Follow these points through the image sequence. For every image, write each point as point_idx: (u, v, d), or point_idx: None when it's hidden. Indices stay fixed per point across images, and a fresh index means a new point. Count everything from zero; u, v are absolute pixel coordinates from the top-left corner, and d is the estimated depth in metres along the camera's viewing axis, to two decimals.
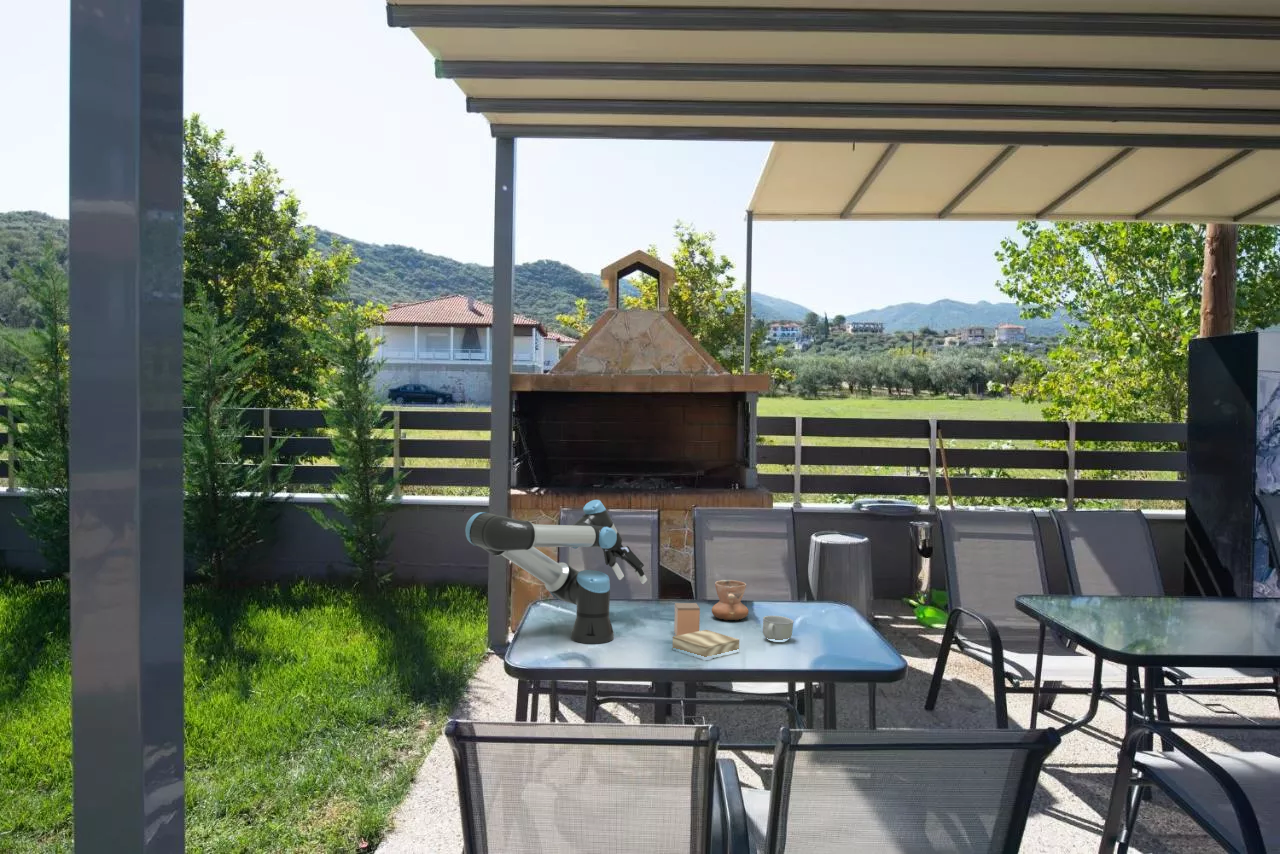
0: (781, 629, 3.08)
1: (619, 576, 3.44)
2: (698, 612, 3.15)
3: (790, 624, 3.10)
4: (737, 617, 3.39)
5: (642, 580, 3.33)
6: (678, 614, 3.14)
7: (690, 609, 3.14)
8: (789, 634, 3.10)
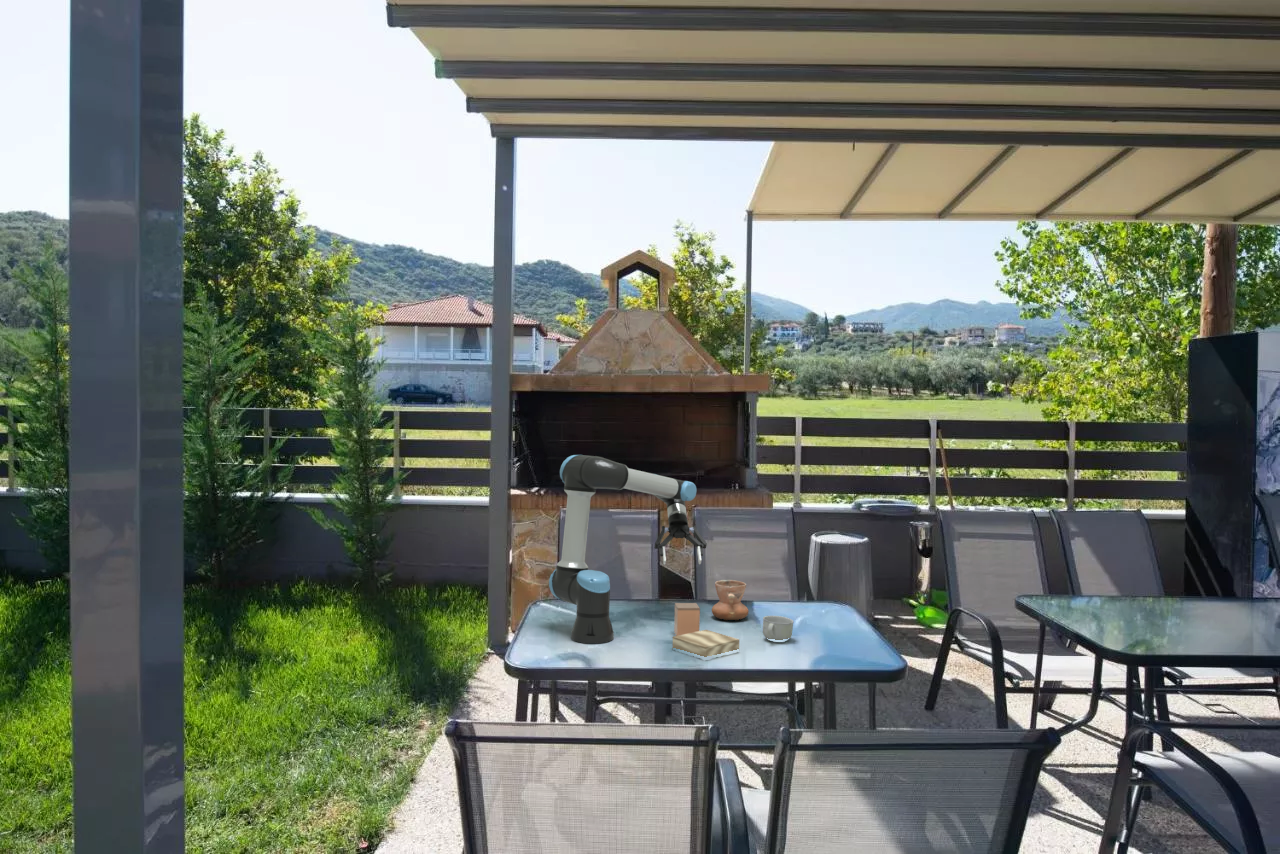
0: (781, 629, 3.08)
1: (665, 558, 3.33)
2: (698, 612, 3.15)
3: (790, 624, 3.10)
4: (737, 617, 3.39)
5: (700, 558, 3.34)
6: (678, 614, 3.14)
7: (690, 609, 3.14)
8: (789, 634, 3.10)
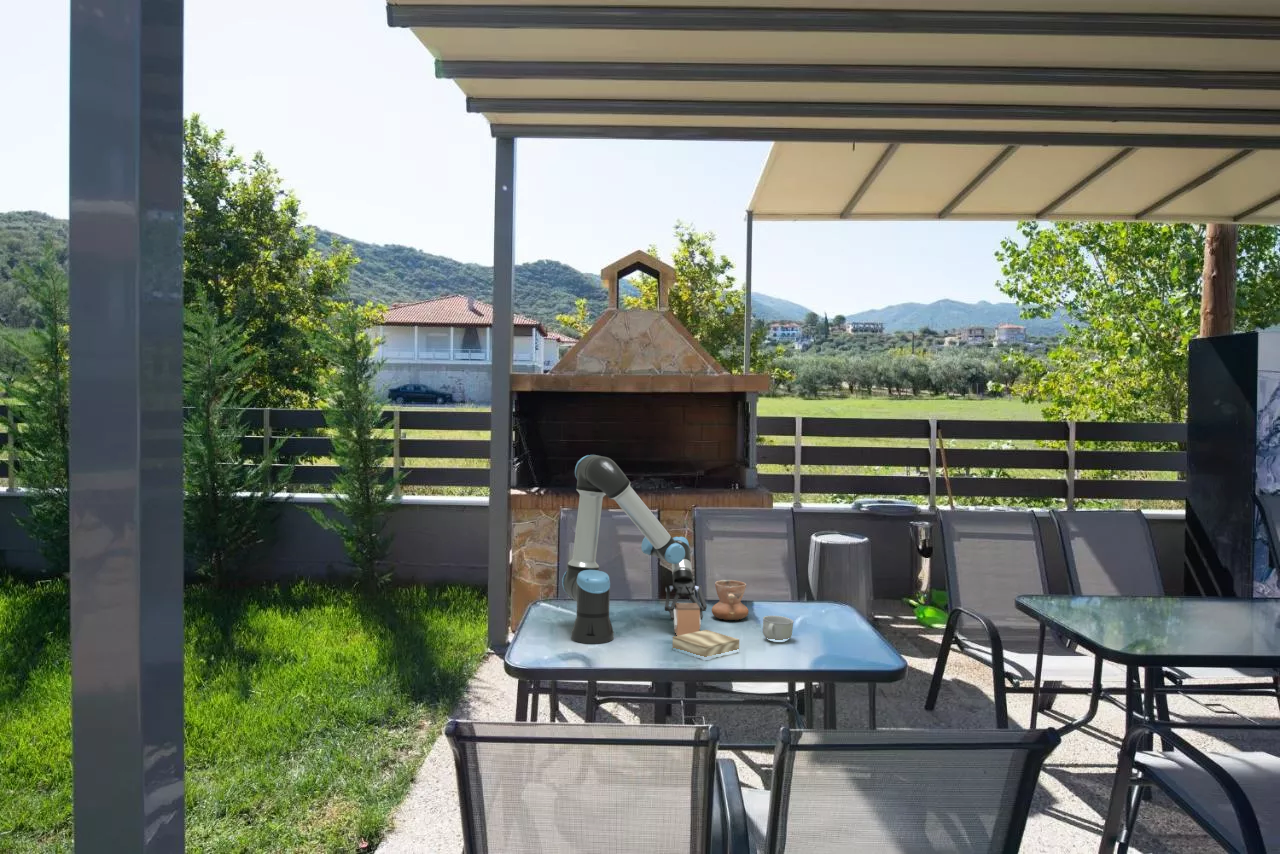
0: (781, 629, 3.08)
1: (676, 622, 3.16)
2: (698, 612, 3.15)
3: (790, 624, 3.10)
4: (737, 617, 3.39)
5: (700, 622, 3.17)
6: (678, 614, 3.14)
7: (690, 609, 3.14)
8: (789, 634, 3.10)
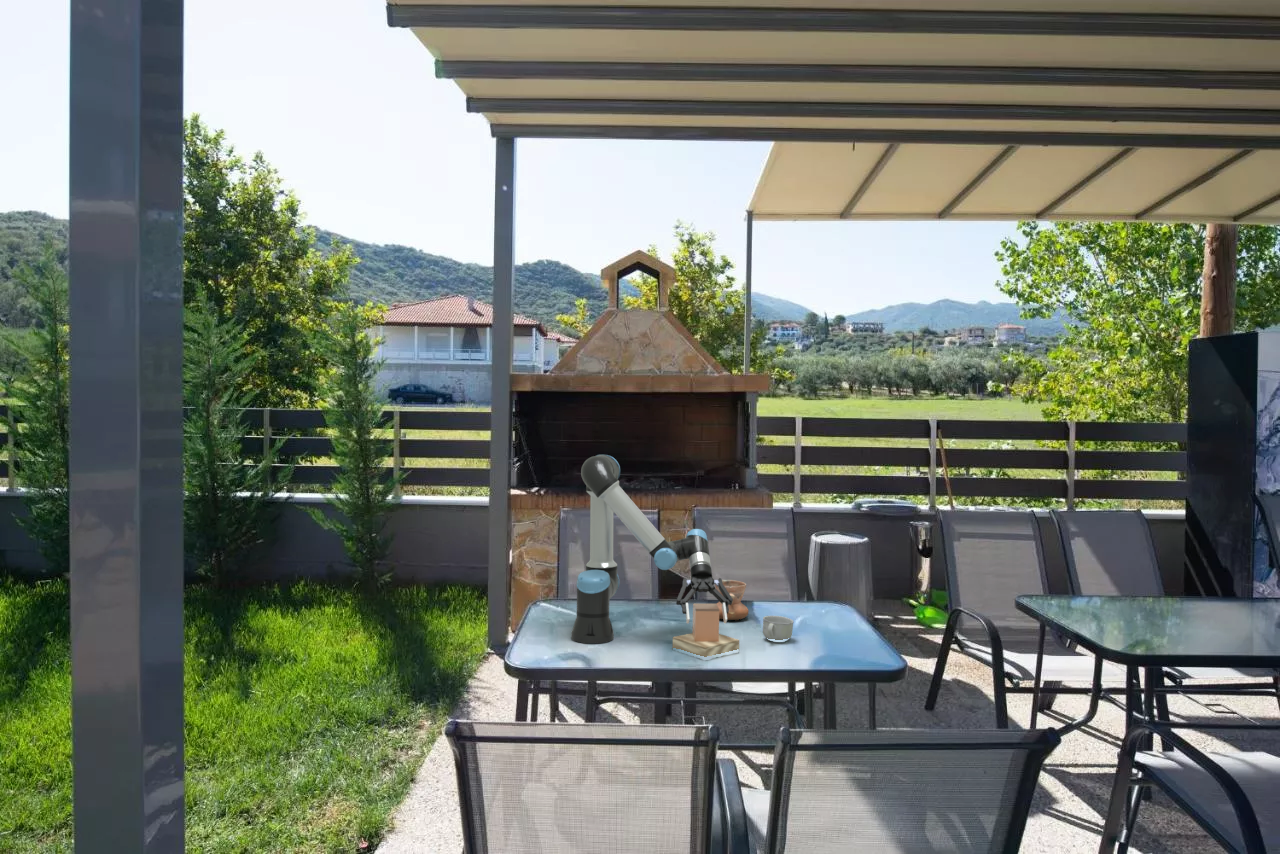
0: (781, 629, 3.08)
1: None
2: (717, 613, 2.94)
3: (790, 624, 3.10)
4: (737, 617, 3.39)
5: (726, 616, 2.98)
6: (696, 615, 2.94)
7: (709, 610, 2.94)
8: (789, 634, 3.10)
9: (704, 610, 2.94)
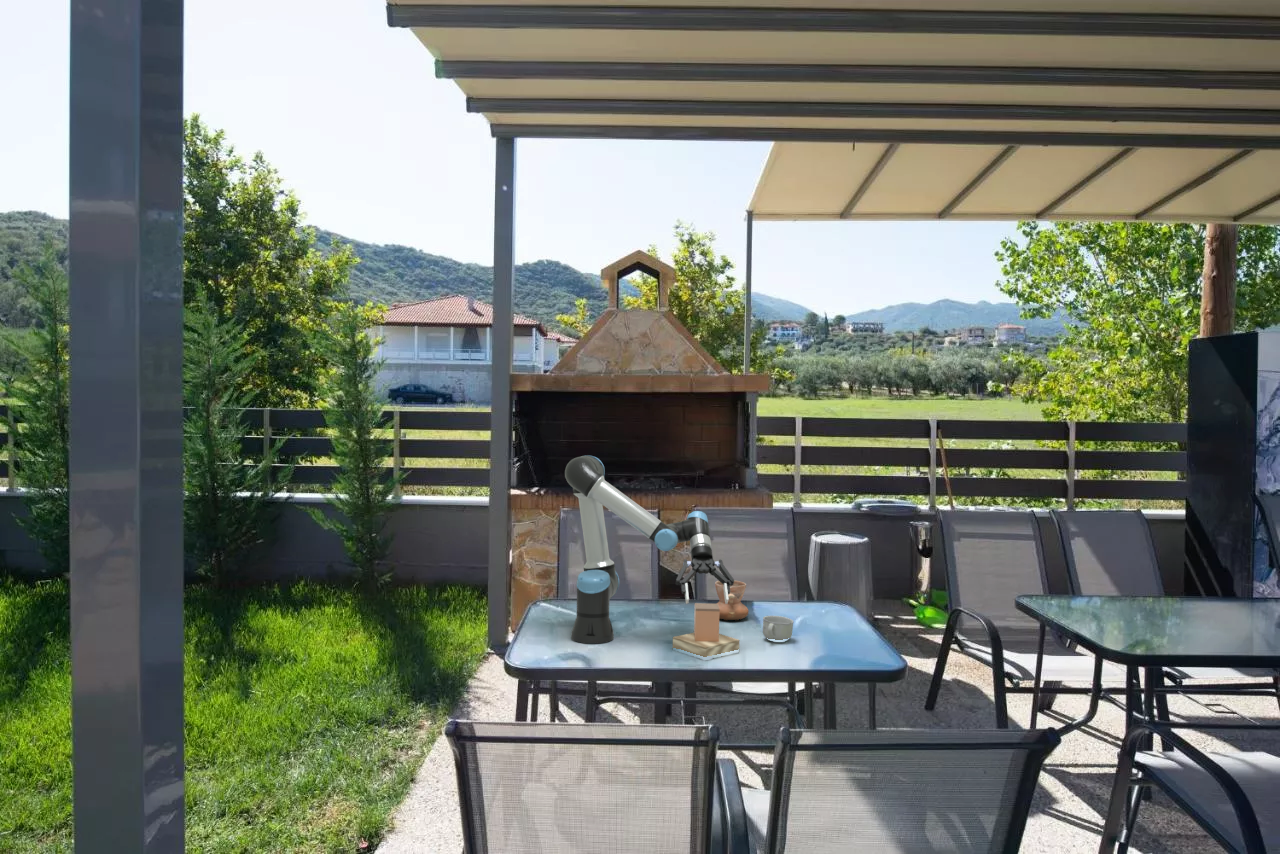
0: (781, 629, 3.08)
1: None
2: (718, 613, 2.94)
3: (790, 624, 3.10)
4: (737, 617, 3.39)
5: (727, 596, 2.98)
6: (696, 615, 2.94)
7: (709, 610, 2.94)
8: (789, 634, 3.10)
9: (704, 610, 2.94)
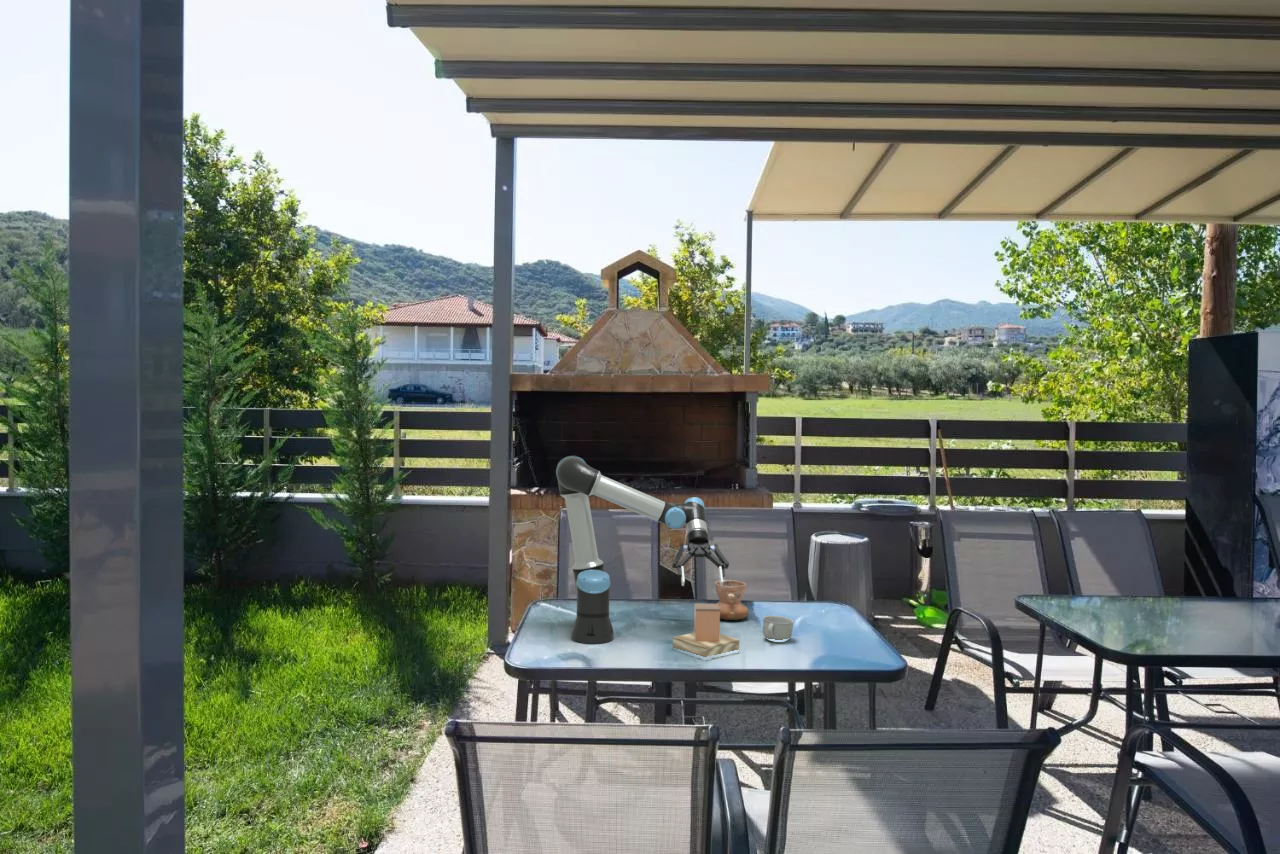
0: (781, 629, 3.08)
1: None
2: (718, 613, 2.94)
3: (790, 624, 3.10)
4: (737, 617, 3.39)
5: (722, 579, 3.08)
6: (696, 615, 2.94)
7: (709, 610, 2.94)
8: (789, 634, 3.10)
9: (705, 610, 2.94)
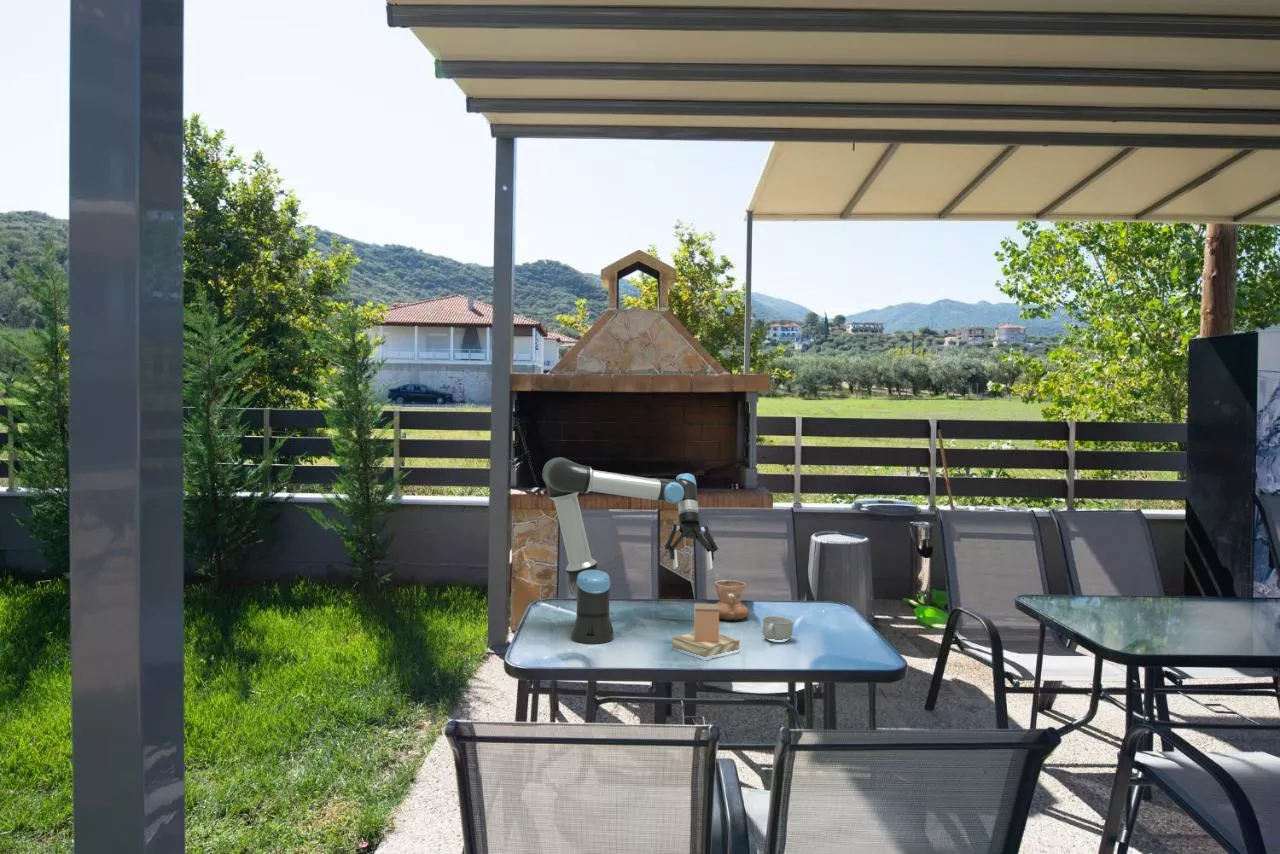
0: (781, 629, 3.08)
1: None
2: (717, 614, 2.93)
3: (790, 624, 3.10)
4: (737, 617, 3.39)
5: None
6: (696, 615, 2.94)
7: (709, 610, 2.93)
8: (789, 634, 3.10)
9: (704, 610, 2.94)
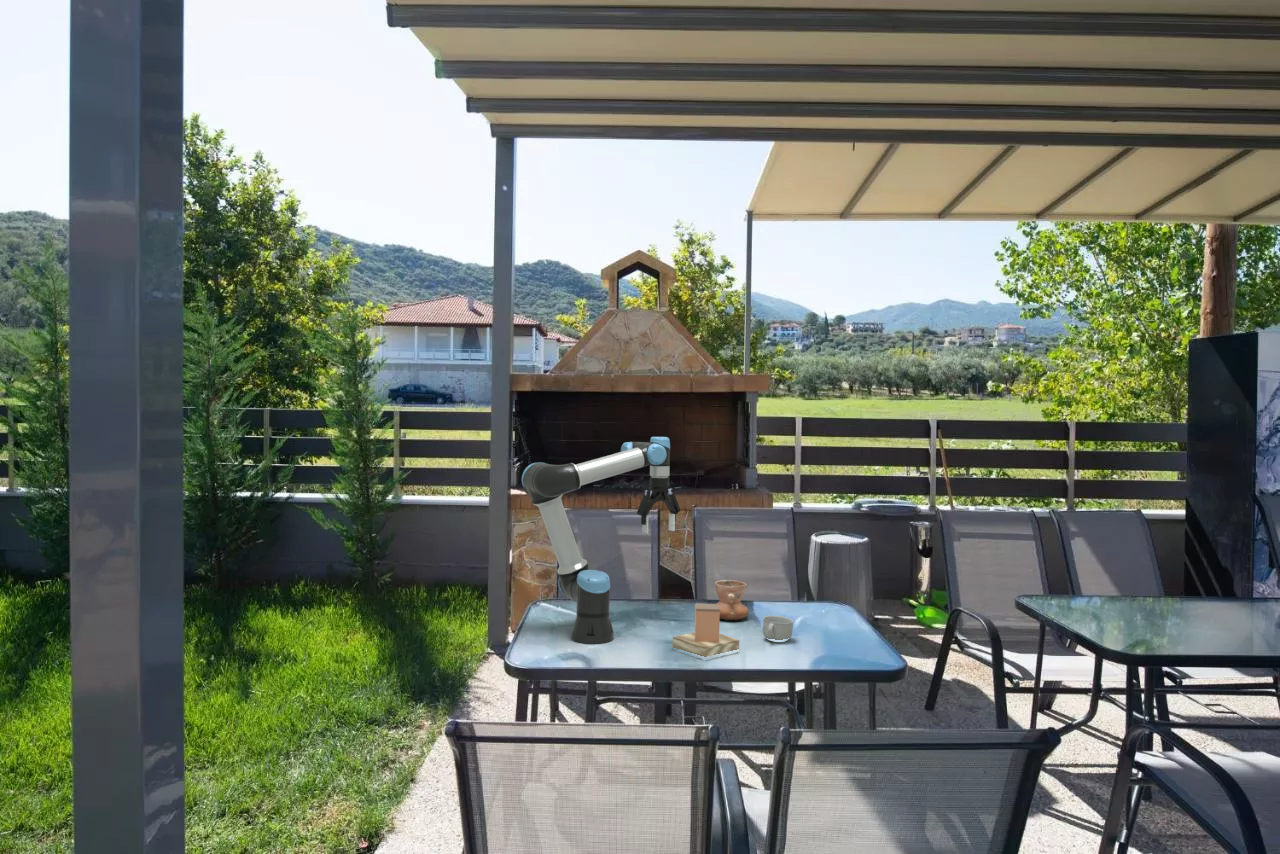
0: (781, 629, 3.08)
1: None
2: (718, 614, 2.93)
3: (790, 624, 3.10)
4: (737, 617, 3.39)
5: None
6: (696, 615, 2.94)
7: (709, 610, 2.93)
8: (789, 634, 3.10)
9: (704, 610, 2.93)
